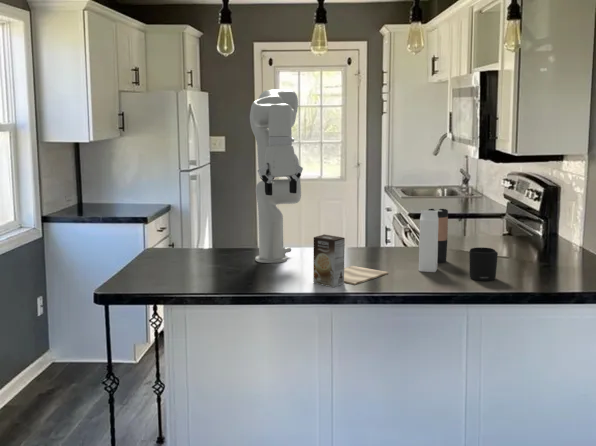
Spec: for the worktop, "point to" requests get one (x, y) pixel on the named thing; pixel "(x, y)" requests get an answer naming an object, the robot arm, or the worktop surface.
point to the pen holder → (483, 264)
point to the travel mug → (442, 234)
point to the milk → (428, 241)
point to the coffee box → (329, 260)
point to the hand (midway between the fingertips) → (281, 194)
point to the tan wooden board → (360, 274)
